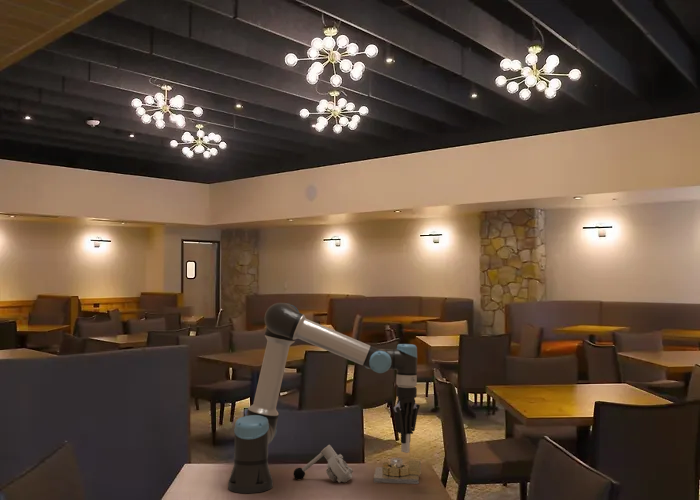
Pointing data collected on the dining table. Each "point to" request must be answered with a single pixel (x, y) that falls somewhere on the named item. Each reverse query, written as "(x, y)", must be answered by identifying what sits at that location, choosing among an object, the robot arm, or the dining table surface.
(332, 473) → the mechanical valve
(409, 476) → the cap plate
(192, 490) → the dining table surface
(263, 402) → the robot arm
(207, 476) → the dining table surface
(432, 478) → the dining table surface
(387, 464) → the ring nut
